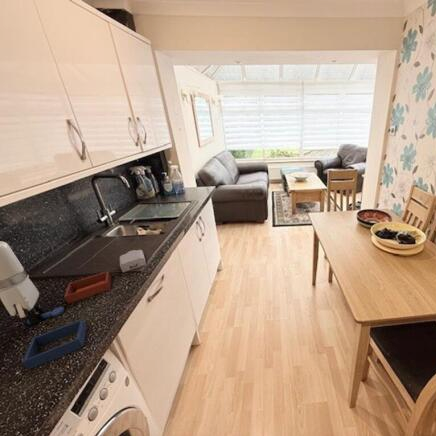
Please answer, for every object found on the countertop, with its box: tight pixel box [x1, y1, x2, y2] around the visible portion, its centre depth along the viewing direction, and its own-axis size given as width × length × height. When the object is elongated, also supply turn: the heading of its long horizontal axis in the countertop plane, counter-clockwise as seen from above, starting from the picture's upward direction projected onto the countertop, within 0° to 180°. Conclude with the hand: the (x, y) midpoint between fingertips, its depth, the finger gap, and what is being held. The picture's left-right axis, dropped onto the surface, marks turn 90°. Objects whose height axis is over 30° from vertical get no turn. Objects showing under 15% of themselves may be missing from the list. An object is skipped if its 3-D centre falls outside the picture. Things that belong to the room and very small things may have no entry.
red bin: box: [63, 270, 112, 305], centre depth 96 cm, size 13×9×4 cm
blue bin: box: [22, 318, 88, 370], centre depth 72 cm, size 12×9×4 cm
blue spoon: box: [26, 306, 65, 325], centre depth 84 cm, size 10×4×2 cm, turn 122°
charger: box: [119, 249, 147, 273], centre depth 113 cm, size 5×9×15 cm
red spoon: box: [75, 280, 105, 292], centre depth 96 cm, size 10×4×2 cm, turn 122°
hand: (39, 319), depth 84 cm, fingers closed on blue spoon, 1 cm apart
